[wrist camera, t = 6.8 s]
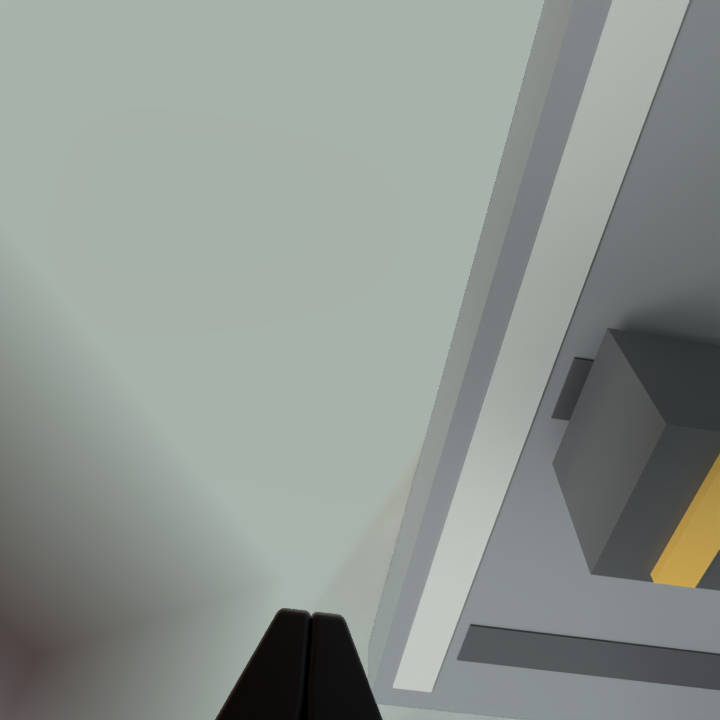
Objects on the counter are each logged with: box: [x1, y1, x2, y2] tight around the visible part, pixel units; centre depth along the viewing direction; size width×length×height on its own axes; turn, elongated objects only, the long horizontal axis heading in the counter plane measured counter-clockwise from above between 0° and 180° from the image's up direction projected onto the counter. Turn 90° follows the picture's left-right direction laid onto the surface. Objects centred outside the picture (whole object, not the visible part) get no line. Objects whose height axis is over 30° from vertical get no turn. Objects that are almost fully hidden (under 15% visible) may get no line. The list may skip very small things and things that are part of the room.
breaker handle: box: [552, 328, 720, 591], centre depth 13 cm, size 4×3×3 cm
